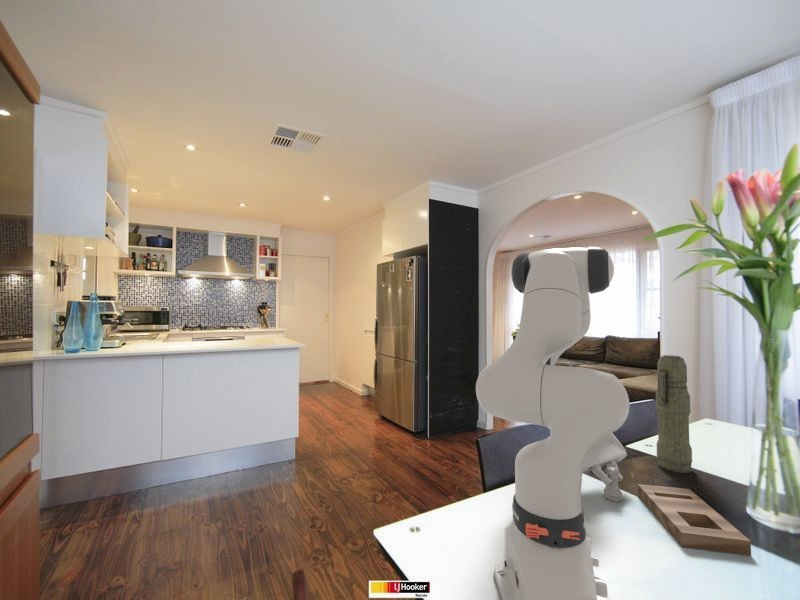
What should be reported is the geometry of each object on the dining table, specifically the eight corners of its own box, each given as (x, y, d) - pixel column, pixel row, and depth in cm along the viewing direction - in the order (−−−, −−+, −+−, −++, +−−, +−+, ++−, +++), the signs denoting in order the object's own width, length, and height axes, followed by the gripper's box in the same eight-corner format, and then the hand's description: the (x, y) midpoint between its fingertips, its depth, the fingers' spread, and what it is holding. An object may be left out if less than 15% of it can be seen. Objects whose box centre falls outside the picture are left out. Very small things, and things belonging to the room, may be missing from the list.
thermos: (699, 468, 114) (696, 356, 115) (682, 476, 108) (679, 358, 109) (667, 458, 121) (664, 353, 123) (649, 465, 115) (647, 355, 117)
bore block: (751, 556, 72) (750, 540, 72) (682, 547, 75) (681, 532, 75) (689, 500, 94) (689, 489, 94) (637, 495, 96) (637, 484, 97)
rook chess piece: (625, 503, 92) (625, 471, 93) (606, 501, 93) (606, 470, 94) (618, 494, 97) (618, 464, 97) (600, 493, 98) (600, 463, 98)
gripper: (562, 433, 97) (597, 485, 88) (609, 422, 106) (645, 469, 97) (549, 444, 101) (581, 496, 92) (595, 433, 110) (629, 479, 101)
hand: (614, 482), depth 95 cm, fingers closed on rook chess piece, 3 cm apart
